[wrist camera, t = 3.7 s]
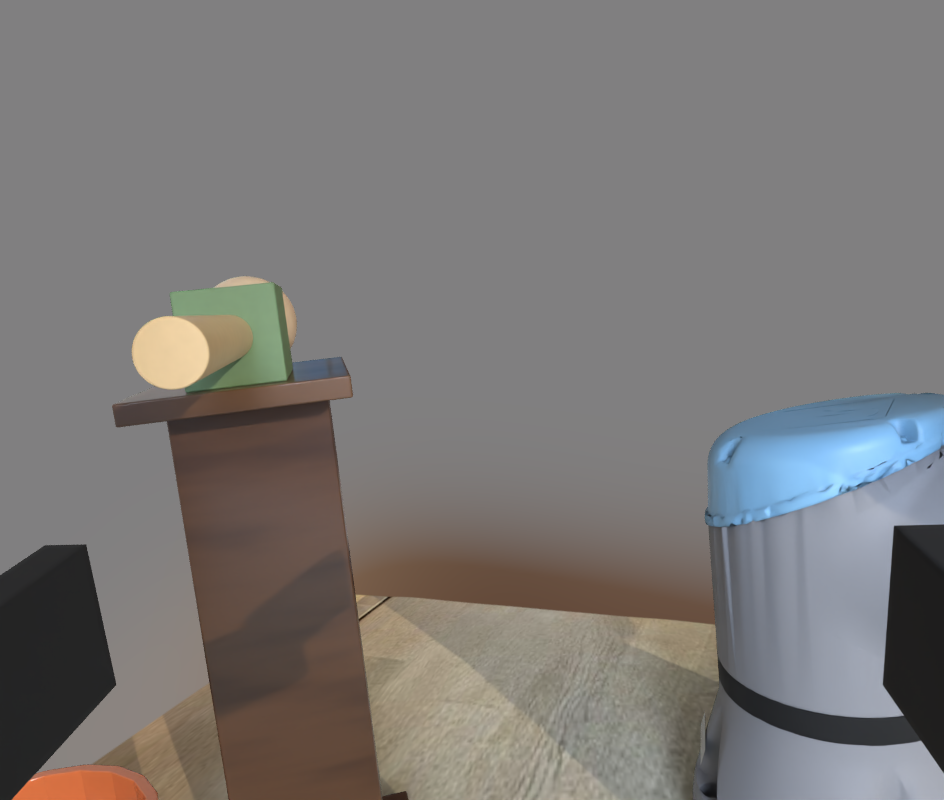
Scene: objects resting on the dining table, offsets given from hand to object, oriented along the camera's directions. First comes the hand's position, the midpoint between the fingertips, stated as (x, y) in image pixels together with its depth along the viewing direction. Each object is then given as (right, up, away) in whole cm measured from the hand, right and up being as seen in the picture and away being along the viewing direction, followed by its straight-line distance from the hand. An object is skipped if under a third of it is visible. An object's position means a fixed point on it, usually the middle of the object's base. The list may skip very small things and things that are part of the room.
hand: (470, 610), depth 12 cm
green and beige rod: (-9, +4, +17) cm, 20 cm away
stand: (-8, -23, +27) cm, 36 cm away
